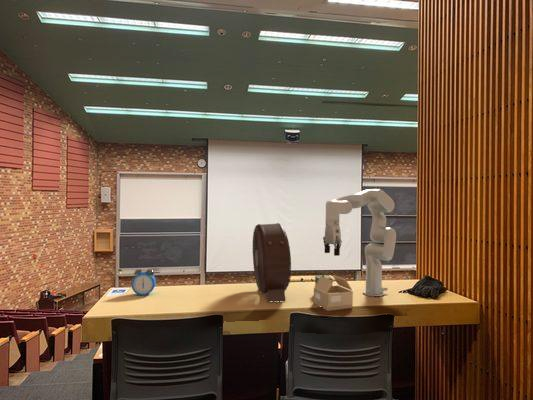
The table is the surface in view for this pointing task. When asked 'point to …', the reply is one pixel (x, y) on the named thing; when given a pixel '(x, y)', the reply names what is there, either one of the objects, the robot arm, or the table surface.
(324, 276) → the chalk box
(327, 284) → the flap
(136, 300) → the table surface
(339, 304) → the carton
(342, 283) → the flap
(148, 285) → the alarm clock
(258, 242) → the fan
